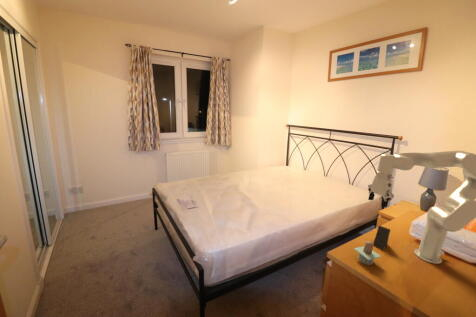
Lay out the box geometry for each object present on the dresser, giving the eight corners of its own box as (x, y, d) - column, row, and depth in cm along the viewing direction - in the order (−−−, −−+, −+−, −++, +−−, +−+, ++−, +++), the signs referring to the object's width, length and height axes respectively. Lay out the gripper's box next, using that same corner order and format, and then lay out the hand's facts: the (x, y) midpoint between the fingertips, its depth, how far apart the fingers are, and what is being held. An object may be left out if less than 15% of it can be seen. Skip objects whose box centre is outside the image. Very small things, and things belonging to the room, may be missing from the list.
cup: (365, 255, 129) (367, 248, 128) (376, 264, 122) (377, 257, 121) (355, 256, 127) (356, 249, 126) (364, 265, 121) (366, 258, 120)
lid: (365, 246, 130) (368, 236, 128) (381, 257, 121) (384, 246, 120) (353, 249, 126) (356, 238, 125) (368, 260, 118) (371, 249, 116)
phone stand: (383, 250, 136) (388, 232, 134) (372, 245, 140) (377, 227, 138) (387, 244, 143) (391, 227, 140) (376, 240, 147) (381, 223, 144)
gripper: (403, 180, 122) (395, 209, 125) (377, 171, 138) (370, 197, 142) (391, 180, 120) (384, 210, 124) (366, 171, 136) (360, 197, 140)
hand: (377, 203), depth 133 cm, fingers open, 9 cm apart
